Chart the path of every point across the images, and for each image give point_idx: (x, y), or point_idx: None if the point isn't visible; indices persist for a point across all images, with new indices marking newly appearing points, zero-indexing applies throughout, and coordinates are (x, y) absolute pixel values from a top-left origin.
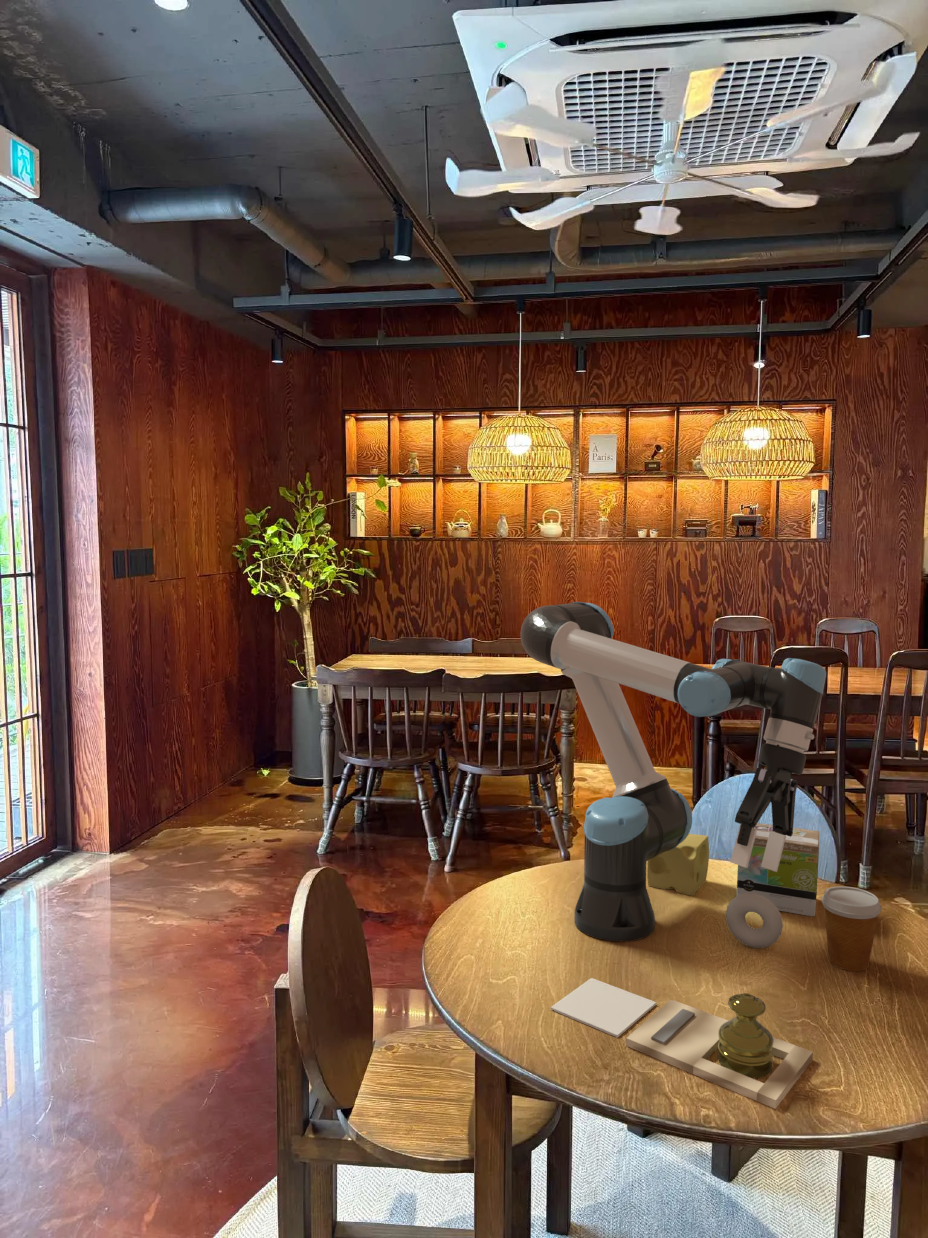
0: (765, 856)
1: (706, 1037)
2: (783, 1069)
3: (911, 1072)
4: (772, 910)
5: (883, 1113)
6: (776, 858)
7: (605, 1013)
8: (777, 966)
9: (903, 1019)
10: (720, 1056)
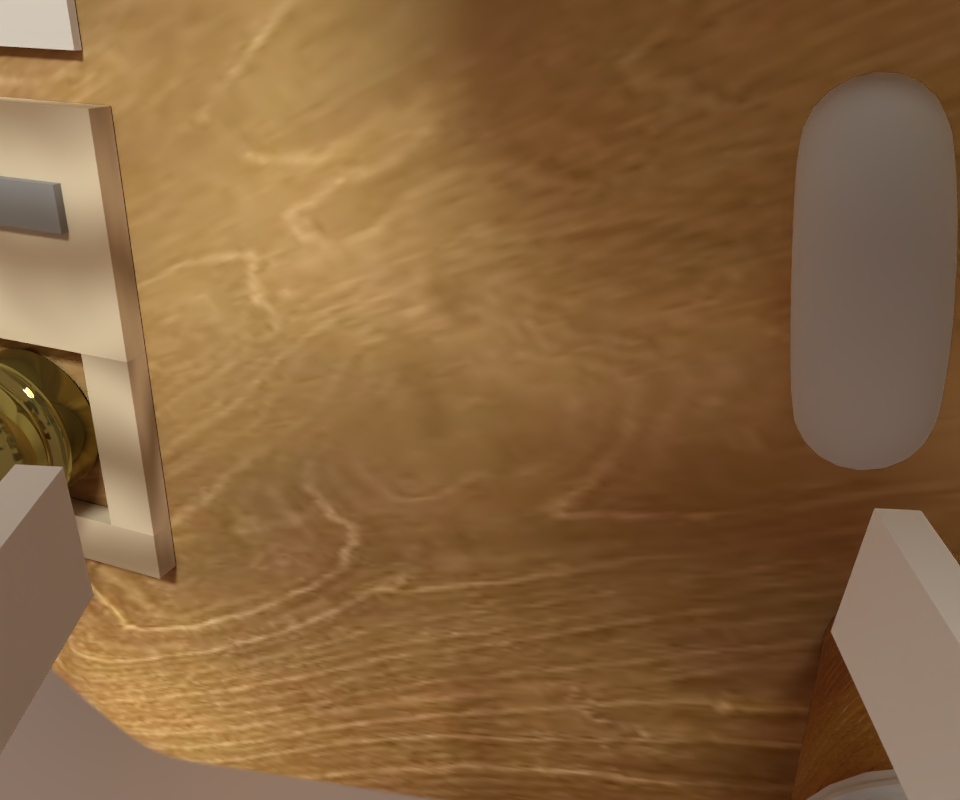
0: (918, 612)
1: (6, 307)
2: None
3: (294, 765)
4: (814, 445)
5: (115, 698)
6: (884, 722)
7: None
8: (693, 391)
9: (545, 785)
10: None
